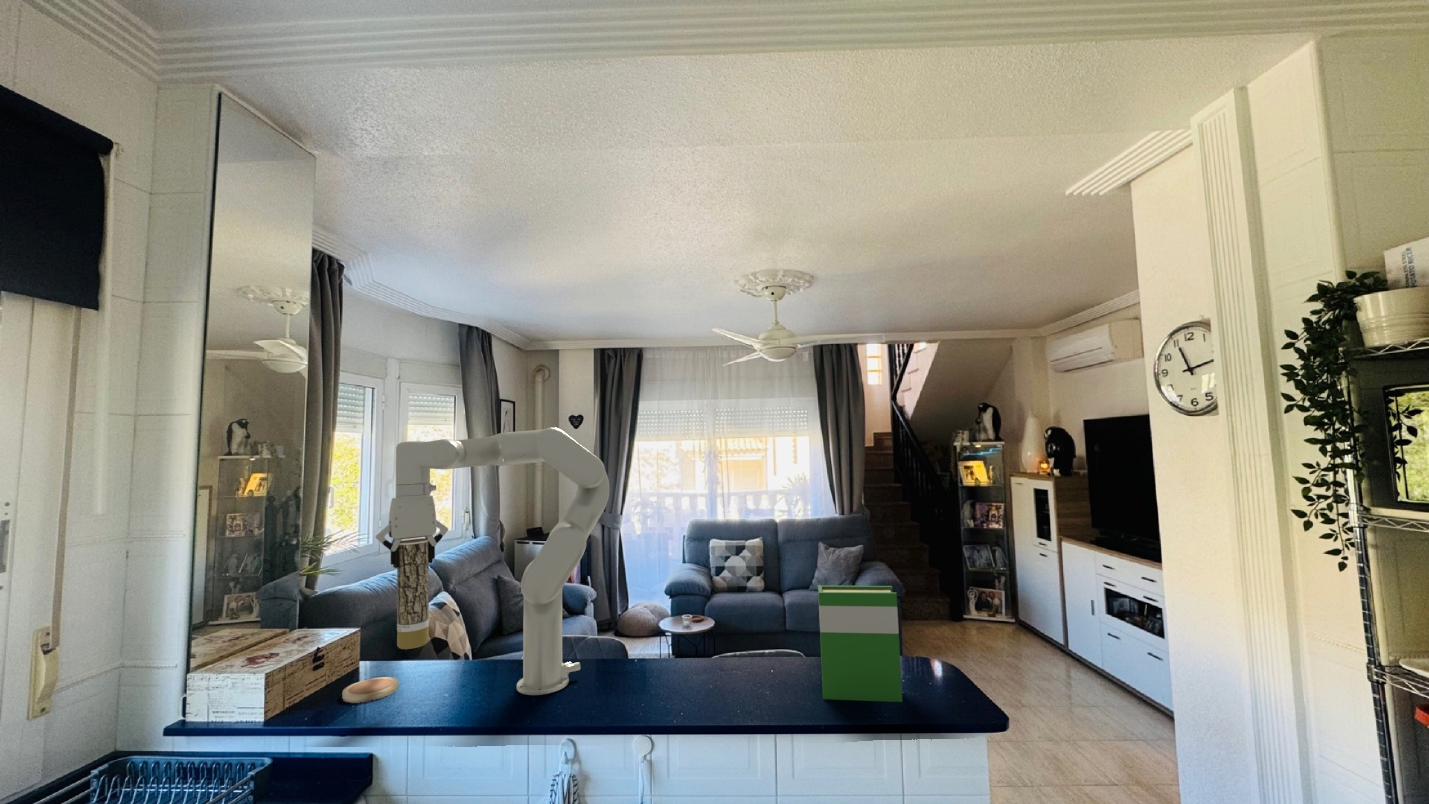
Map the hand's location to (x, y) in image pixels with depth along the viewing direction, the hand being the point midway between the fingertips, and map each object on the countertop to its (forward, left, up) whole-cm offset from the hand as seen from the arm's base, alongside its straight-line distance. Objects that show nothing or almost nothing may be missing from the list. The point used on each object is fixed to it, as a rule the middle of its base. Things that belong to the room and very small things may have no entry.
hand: (413, 564), depth 141 cm
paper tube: (0, 0, -20) cm, 20 cm away
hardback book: (-82, +70, -33) cm, 112 cm away
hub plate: (+6, -13, -32) cm, 35 cm away
